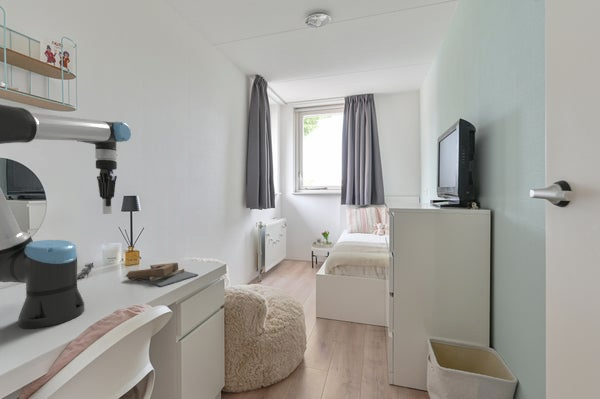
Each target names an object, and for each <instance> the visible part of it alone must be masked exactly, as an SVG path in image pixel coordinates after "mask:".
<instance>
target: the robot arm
mask: <svg viewBox="0 0 600 399" xmlns="http://www.w3.org/2000/svg"><path fill="white" fill-rule="evenodd" d="M131 137H132V131H131V128H130V126H129V125H128V124H127V123H126V122H123V121H103V120H96V119H86V118H80V117H79V118H78V117H71V116H63V115H54V114H46V113H37V112H31V111H30V110H29V109H27V108H24V107H18V106H14V105H13V106H11V105H6V104H0V145H1V144H15V143H16V144H17V143H20V144H21V143H22V144H23V143H24V144H25V143H26V144H28V143H31V142H33V141H34V140H39V141H40V140H41V141H42V140H47V141H49V140H50V141H76V142H80V143H81V142H82V143H85V144H91V145H94V146H95V149H94V150H95V153H94V156H95V157H94V158H95V159H96V160H95V168H96V169H97V170H99V175H97V176H96V180H97V184H98V185H97V186H98V192H99V197H100V198H101V199H102V214H103V215H105V214H106V215H107V214H109V215H111V214H112V199H113V198H114V197H115V192H116V190H115V189H116V182H117V179H118V178H117V177H118V176H117V175H114V171H115V170H117V169H118V163H117V156H118V154H117V142H118V143H122V142H123V143H124V142H128V141H129V140H130V139H131ZM13 213H14V212H13V211H12V209H11V207H10V205H9V203H8V200H7V199H6V196H5V194H4V191H3V190H2V187H1V186H0V283H21V284H22V283H23V284H25V290H26V293H25V296H26V298H25V299H24V302H23V305H22V307H21V310H20V312H19V314H18V318H17V320H18V327H19V328H23V329H38V328H40V329H41V328H47V327H50V326H55V325H58V324H63V323H65V322H68V321H70V320H73V319H75V318H77V317H79V316H81V315H82V314H83V313H84V312H85V301H84V299H83V297H82V295H81V293H80V291H79V289H78V279H77V274H78V253H77V245H76V244H75V243H73V242H72V241H68V240H65V239H64V240H63V239H44V240H43V239H42V240H36V241H34V240H33V238H32V236H31V234H30V233H29V232H25V231H22V230H21V228H20V226H19V223H18V222H17V219H16V217H15V216H14V214H13Z"/></svg>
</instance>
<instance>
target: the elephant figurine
mask: <svg viewBox="0 0 600 399" xmlns="http://www.w3.org/2000/svg"><path fill="white" fill-rule="evenodd" d="M94 267H95V265H94V262H91V263H90V262H89V263H85V264H84V268H83V269H82V270H81V271H80V272H78V273H77V280H78V279H79V278H80V277H82V276H83V275H84V276H85V275H87V277H89V274H90V273H91V272H92V269H93V268H94Z"/></svg>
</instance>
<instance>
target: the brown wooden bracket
mask: <svg viewBox="0 0 600 399" xmlns="http://www.w3.org/2000/svg"><path fill="white" fill-rule="evenodd" d="M178 269H179V263H178V262H170V263H161V264H153V265H152V264H150V268H146V269H145V268H144V269H138V270H129V271H128V272H127V276H126V278H127V279H128V280H138V278H148V277H164V276H166V275H169V274H171V273H172V272H175V271H177V270H178Z"/></svg>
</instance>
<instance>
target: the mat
mask: <svg viewBox="0 0 600 399" xmlns="http://www.w3.org/2000/svg"><path fill="white" fill-rule="evenodd" d="M179 269H180V268H178V270H179ZM127 274H128V273H127ZM127 274H125V276H126V277H127ZM198 276H199V274H197V273H193V272H190V271H186V270H184V272H182V273H178V274H175V275H171V276H168V277H164V278H161V279H157V280H153V281H150V277H148V278H138V279H137V280H138V281H141V282H144V283H147V284H150V285H153V286H157V287H160V288H162V287H165V286H166V287H167V286H169V285H172V284H176V283H179V282H182V281H185V280H189V279H192V278H195V277H198Z"/></svg>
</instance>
